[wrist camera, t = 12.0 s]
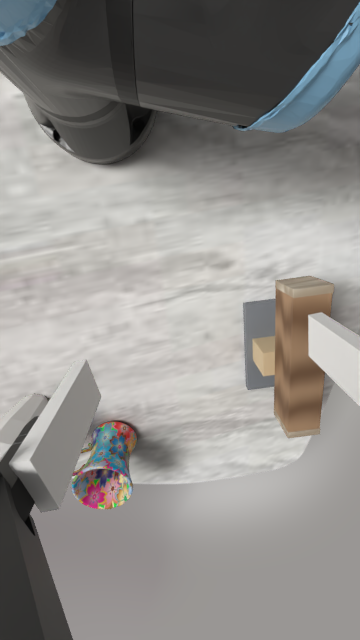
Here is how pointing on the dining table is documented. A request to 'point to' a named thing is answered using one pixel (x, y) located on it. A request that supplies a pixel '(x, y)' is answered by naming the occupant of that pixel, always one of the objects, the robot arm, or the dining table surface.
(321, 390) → the beam
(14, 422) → the low poly bottle
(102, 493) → the mug
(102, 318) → the dining table surface
